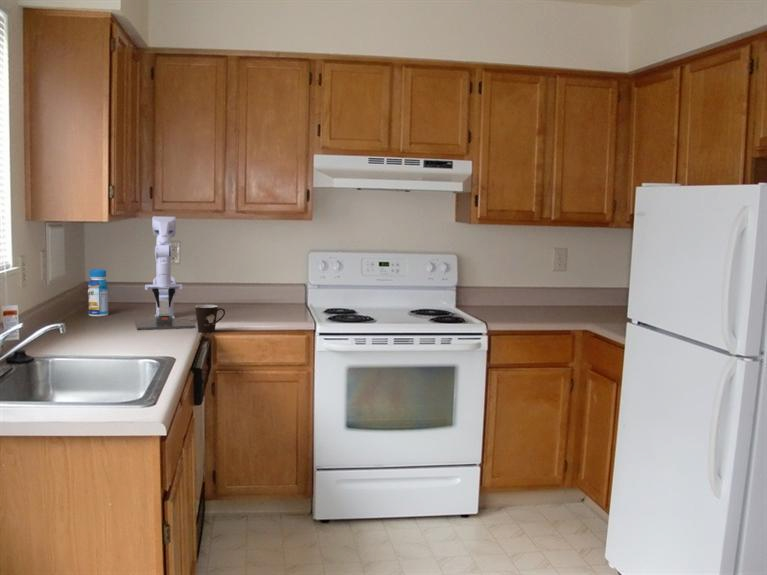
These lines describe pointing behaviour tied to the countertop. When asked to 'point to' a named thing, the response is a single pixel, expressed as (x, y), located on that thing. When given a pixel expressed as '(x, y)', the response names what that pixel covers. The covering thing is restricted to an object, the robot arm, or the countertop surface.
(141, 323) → the stand
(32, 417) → the countertop surface
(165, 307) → the silver metallic block
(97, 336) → the countertop surface
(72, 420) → the countertop surface
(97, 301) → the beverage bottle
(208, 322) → the coffee mug
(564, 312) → the countertop surface
